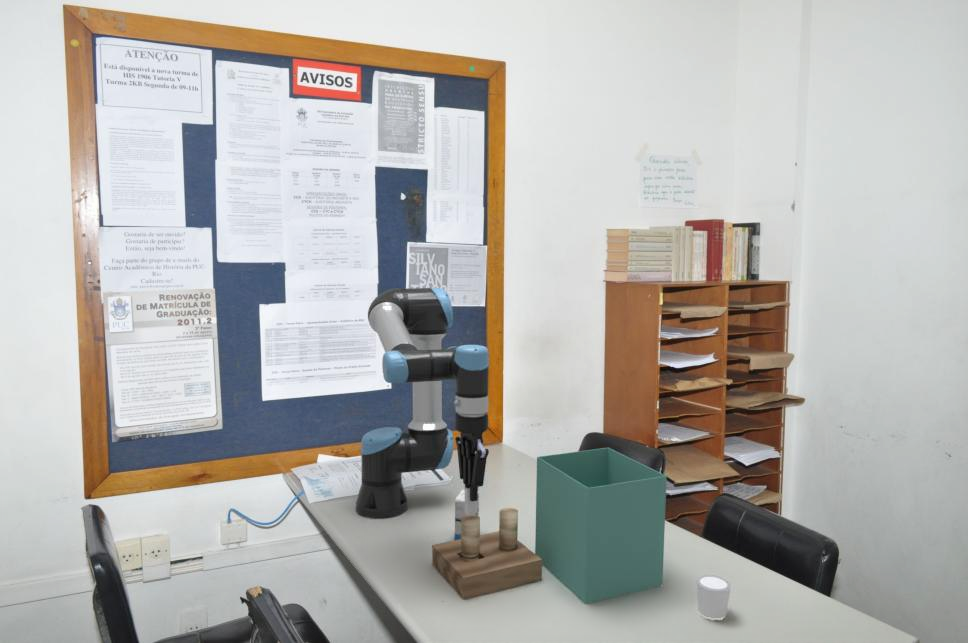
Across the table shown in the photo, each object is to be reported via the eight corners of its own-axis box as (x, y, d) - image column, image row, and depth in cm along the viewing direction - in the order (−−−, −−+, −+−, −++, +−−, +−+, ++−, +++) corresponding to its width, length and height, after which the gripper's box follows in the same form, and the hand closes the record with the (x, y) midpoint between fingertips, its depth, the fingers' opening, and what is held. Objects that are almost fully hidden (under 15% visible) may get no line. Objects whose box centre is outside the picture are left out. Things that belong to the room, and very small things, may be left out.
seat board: (432, 564, 162) (432, 509, 161) (504, 548, 171) (505, 496, 170) (463, 599, 146) (463, 538, 145) (541, 580, 155) (542, 522, 154)
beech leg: (457, 572, 158) (457, 516, 156) (474, 568, 160) (474, 512, 158) (465, 581, 154) (465, 523, 152) (482, 576, 156) (483, 519, 154)
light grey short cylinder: (689, 605, 145) (691, 575, 144) (720, 604, 145) (722, 573, 145) (702, 623, 138) (704, 591, 137) (734, 622, 139) (736, 590, 138)
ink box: (472, 546, 173) (472, 501, 172) (453, 544, 174) (454, 500, 173) (479, 532, 181) (479, 490, 180) (461, 530, 182) (461, 488, 181)
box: (535, 558, 166) (536, 456, 164) (605, 544, 175) (608, 447, 172) (584, 604, 145) (587, 488, 142) (662, 585, 153) (666, 476, 150)
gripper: (445, 408, 157) (445, 505, 159) (469, 421, 145) (468, 525, 148) (474, 405, 160) (473, 500, 163) (499, 417, 149) (498, 520, 151)
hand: (471, 512), depth 155 cm, fingers closed
